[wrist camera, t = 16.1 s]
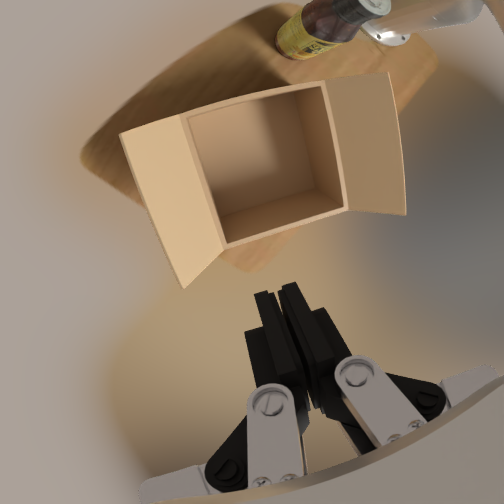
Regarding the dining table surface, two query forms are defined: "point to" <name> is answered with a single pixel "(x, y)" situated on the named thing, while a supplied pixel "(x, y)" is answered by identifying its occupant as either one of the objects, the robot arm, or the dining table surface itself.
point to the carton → (267, 161)
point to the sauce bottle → (326, 25)
